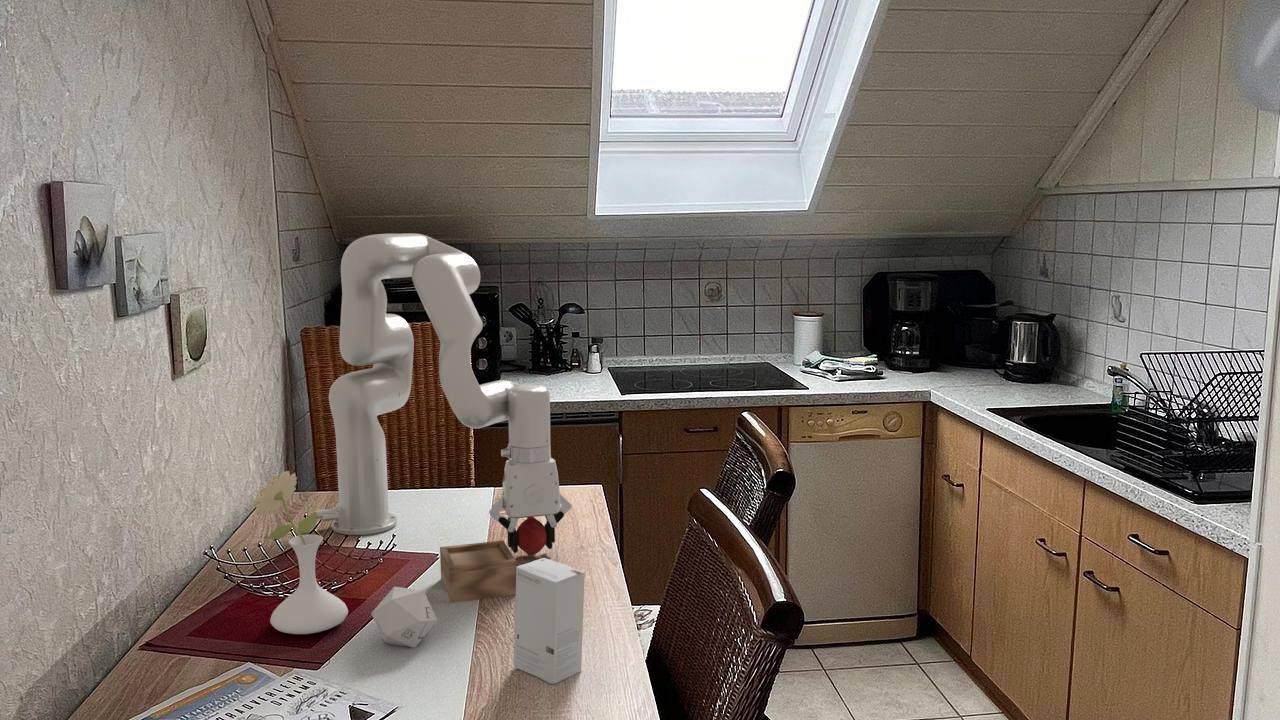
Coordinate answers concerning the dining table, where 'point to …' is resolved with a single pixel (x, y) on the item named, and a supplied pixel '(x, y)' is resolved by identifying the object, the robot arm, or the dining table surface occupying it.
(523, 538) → the onion
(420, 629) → the die
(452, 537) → the dining table surface
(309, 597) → the flower in vase
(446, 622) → the dining table surface
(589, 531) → the dining table surface
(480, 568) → the walnut box
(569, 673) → the skincare box
